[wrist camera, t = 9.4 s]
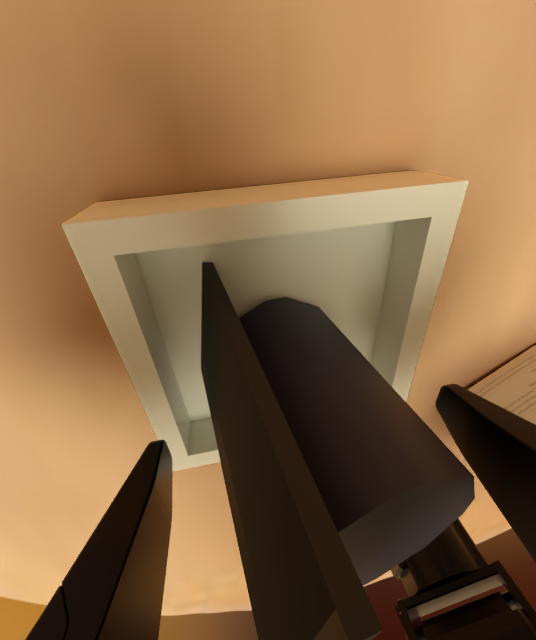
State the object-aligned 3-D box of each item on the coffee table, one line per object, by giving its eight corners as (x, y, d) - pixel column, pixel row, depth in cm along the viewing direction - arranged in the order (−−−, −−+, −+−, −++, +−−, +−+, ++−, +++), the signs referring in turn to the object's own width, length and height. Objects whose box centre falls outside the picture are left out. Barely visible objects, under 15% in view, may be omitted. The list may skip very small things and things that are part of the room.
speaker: (156, 372, 13) (142, 794, 5) (203, 257, 11) (327, 653, 3) (292, 395, 17) (422, 660, 8) (348, 311, 15) (596, 555, 6)
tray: (412, 169, 12) (469, 180, 9) (373, 384, 18) (399, 424, 16) (96, 202, 10) (61, 224, 8) (177, 421, 17) (172, 471, 14)
